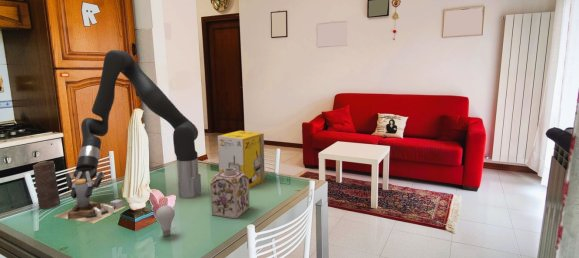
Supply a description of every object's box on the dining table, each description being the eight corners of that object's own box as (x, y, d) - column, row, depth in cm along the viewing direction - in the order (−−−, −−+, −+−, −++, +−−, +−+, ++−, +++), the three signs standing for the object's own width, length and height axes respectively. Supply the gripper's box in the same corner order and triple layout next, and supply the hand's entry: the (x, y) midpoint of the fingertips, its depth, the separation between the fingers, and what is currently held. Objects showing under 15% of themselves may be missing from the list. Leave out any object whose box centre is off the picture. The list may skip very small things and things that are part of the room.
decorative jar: (250, 207, 142) (249, 166, 139) (237, 219, 131) (235, 174, 128) (225, 204, 146) (223, 163, 143) (210, 215, 135) (208, 171, 132)
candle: (49, 212, 139) (42, 165, 135) (34, 210, 140) (27, 164, 137) (64, 204, 146) (59, 160, 143) (50, 203, 148) (44, 159, 144)
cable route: (126, 206, 142) (126, 200, 141) (99, 220, 129) (98, 214, 128) (112, 204, 144) (112, 198, 143) (84, 218, 131) (84, 211, 130)
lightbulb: (160, 231, 122) (158, 202, 120) (177, 231, 122) (175, 202, 120) (155, 240, 116) (152, 210, 114) (173, 239, 116) (171, 209, 114)
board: (126, 208, 142) (126, 206, 142) (94, 225, 127) (93, 223, 127) (89, 203, 148) (89, 201, 148) (54, 218, 133) (53, 216, 133)
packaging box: (264, 180, 176) (263, 133, 172) (244, 190, 163) (242, 139, 158) (240, 175, 185) (239, 130, 180) (219, 184, 171) (217, 135, 167)
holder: (100, 207, 141) (100, 202, 140) (93, 216, 132) (92, 211, 132) (77, 209, 139) (76, 204, 138) (68, 218, 130) (67, 213, 130)
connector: (92, 202, 137) (89, 178, 135) (86, 207, 133) (83, 181, 131) (81, 203, 137) (78, 178, 135) (74, 207, 133) (71, 181, 131)
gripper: (66, 155, 137) (56, 194, 128) (104, 153, 140) (97, 192, 131) (72, 164, 143) (63, 202, 134) (109, 162, 146) (103, 199, 137)
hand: (80, 197), depth 132 cm, fingers closed on connector, 4 cm apart
